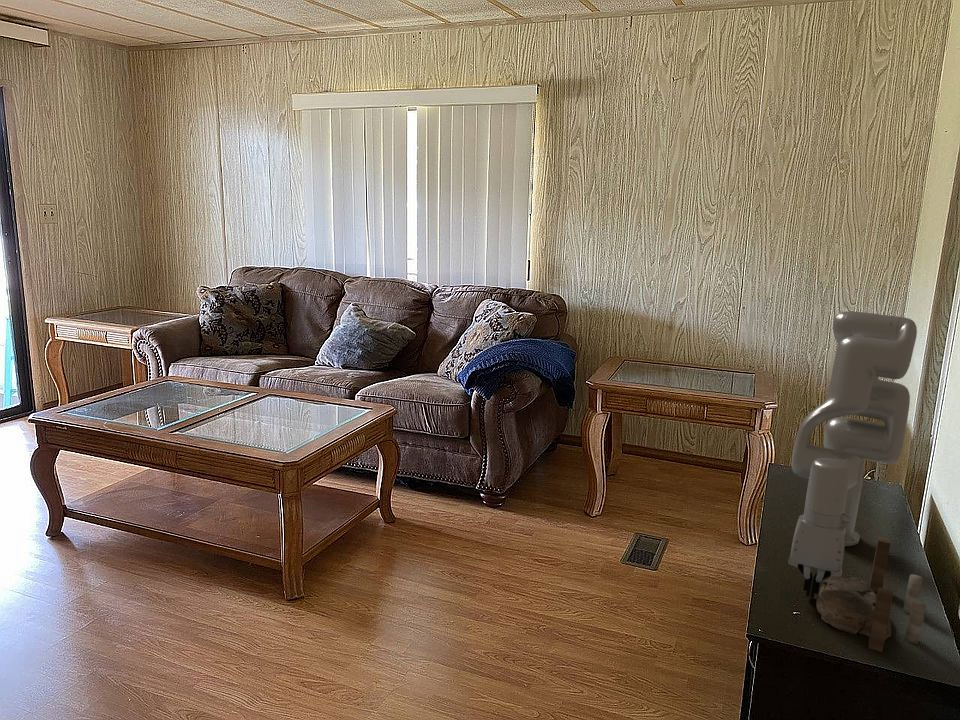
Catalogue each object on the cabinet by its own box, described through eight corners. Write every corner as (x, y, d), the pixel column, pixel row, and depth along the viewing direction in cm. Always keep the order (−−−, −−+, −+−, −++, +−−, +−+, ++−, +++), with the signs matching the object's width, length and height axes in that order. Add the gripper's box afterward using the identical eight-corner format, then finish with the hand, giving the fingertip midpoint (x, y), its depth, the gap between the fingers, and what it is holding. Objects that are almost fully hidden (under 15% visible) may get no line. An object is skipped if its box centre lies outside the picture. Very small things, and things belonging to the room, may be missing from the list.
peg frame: (869, 585, 169) (878, 536, 167) (914, 596, 166) (924, 546, 163) (868, 648, 146) (878, 592, 143) (920, 662, 142) (932, 606, 139)
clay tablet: (816, 581, 171) (813, 624, 153) (820, 562, 170) (817, 602, 152) (885, 600, 165) (890, 646, 147) (890, 579, 164) (895, 624, 146)
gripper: (862, 518, 158) (848, 596, 162) (787, 502, 165) (775, 577, 169) (861, 532, 152) (847, 613, 156) (783, 514, 158) (771, 592, 162)
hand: (810, 594), depth 162 cm, fingers closed
